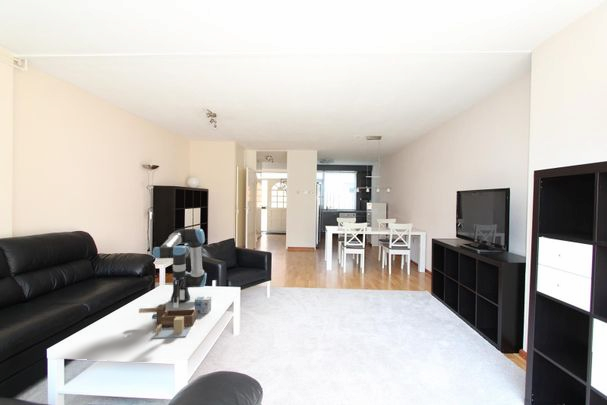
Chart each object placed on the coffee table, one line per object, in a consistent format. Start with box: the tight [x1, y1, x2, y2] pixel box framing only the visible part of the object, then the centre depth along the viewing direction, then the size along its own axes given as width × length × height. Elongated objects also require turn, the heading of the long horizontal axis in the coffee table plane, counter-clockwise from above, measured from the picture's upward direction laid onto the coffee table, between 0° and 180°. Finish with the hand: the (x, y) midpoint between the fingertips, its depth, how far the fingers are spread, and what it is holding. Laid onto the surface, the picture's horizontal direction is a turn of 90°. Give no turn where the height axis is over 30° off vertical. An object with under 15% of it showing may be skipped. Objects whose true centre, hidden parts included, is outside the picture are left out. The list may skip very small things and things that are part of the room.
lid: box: [152, 316, 191, 340], centre depth 185 cm, size 12×19×10 cm, turn 98°
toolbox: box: [156, 303, 197, 329], centre depth 200 cm, size 12×24×12 cm, turn 98°
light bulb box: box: [194, 295, 212, 315], centre depth 221 cm, size 11×7×11 cm, turn 88°
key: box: [138, 307, 157, 314], centre depth 198 cm, size 2×14×2 cm, turn 98°
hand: (179, 303), depth 185 cm, fingers open, 13 cm apart
